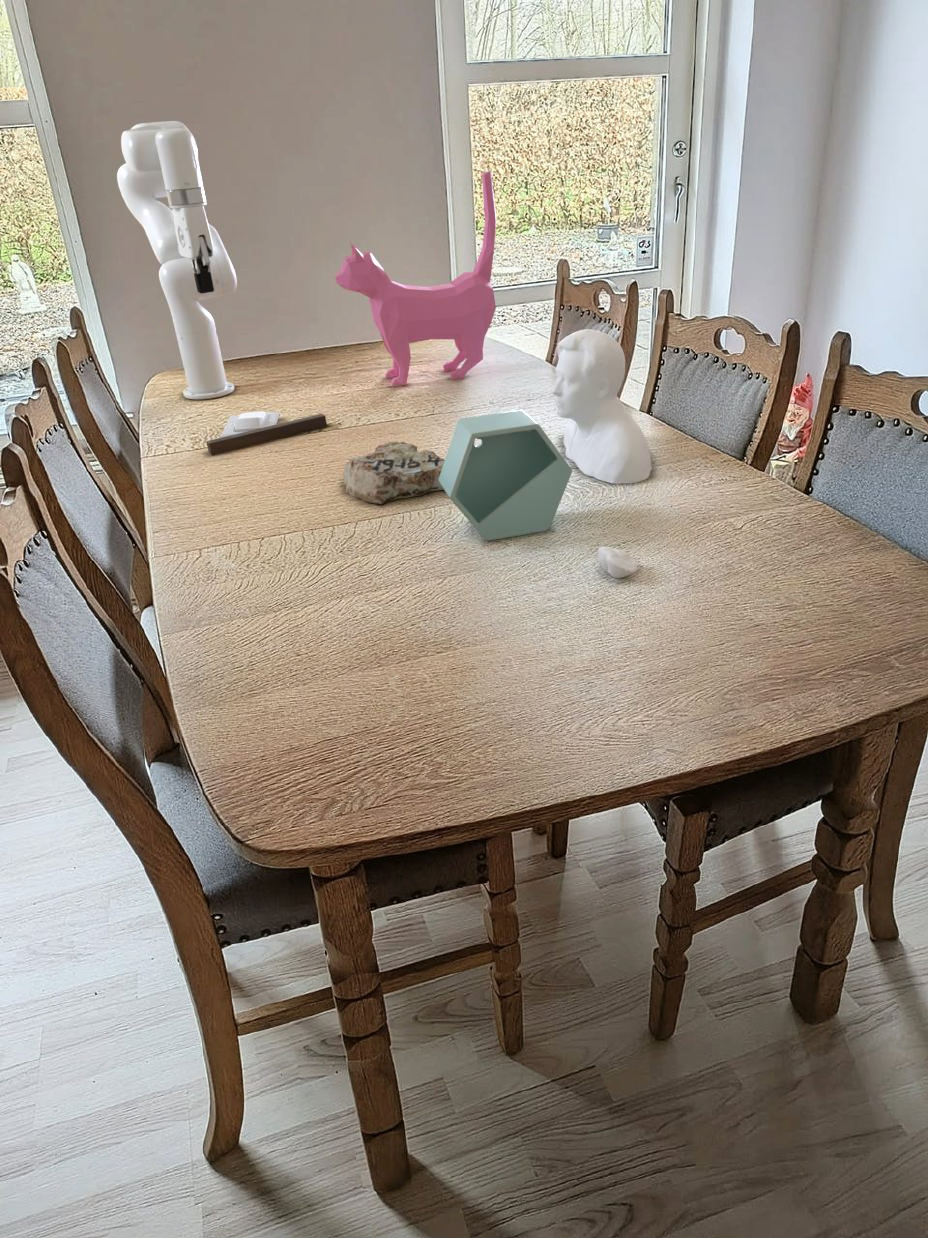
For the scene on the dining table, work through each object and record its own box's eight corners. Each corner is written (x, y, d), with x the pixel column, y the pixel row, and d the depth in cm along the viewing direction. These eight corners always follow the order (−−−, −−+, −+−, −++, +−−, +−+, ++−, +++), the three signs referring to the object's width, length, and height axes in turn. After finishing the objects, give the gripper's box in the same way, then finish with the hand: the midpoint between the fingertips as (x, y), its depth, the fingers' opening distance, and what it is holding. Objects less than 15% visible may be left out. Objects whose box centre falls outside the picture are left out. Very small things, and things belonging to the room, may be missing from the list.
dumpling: (588, 570, 124) (592, 543, 122) (621, 569, 125) (625, 543, 124) (610, 583, 117) (613, 554, 116) (644, 582, 119) (648, 554, 118)
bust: (520, 445, 170) (516, 321, 158) (605, 427, 175) (607, 306, 163) (591, 492, 147) (593, 352, 135) (686, 470, 153) (695, 334, 141)
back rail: (208, 452, 178) (206, 441, 176) (323, 424, 189) (321, 413, 188) (211, 455, 176) (209, 443, 175) (327, 426, 188) (325, 415, 186)
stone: (359, 484, 143) (319, 438, 162) (363, 515, 146) (323, 467, 165) (465, 462, 149) (414, 421, 168) (466, 493, 152) (416, 449, 171)
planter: (506, 564, 136) (427, 472, 125) (492, 544, 143) (416, 454, 132) (591, 495, 134) (518, 395, 123) (573, 478, 140) (502, 381, 129)
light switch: (217, 425, 182) (228, 404, 192) (221, 444, 184) (232, 422, 195) (268, 421, 182) (276, 400, 193) (272, 440, 184) (279, 418, 195)
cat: (346, 381, 219) (320, 183, 196) (495, 362, 226) (487, 169, 203) (352, 394, 208) (325, 186, 185) (509, 374, 215) (502, 171, 192)
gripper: (158, 198, 181) (179, 290, 191) (179, 201, 170) (200, 299, 179) (193, 195, 184) (211, 285, 194) (216, 197, 173) (234, 293, 183)
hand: (206, 291), depth 187 cm, fingers closed
